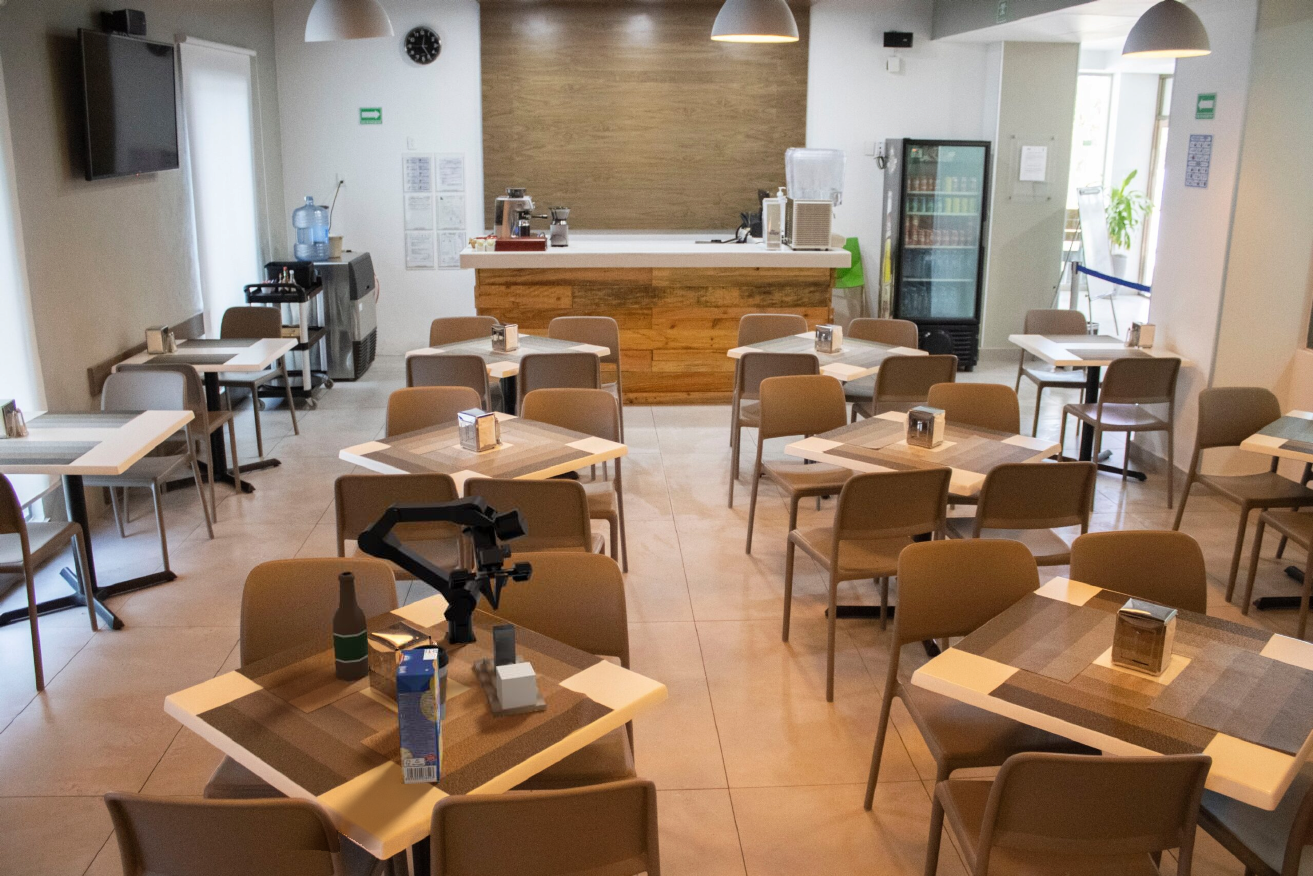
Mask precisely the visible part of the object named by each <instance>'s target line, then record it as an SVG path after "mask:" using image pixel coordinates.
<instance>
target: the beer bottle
mask: <svg viewBox="0 0 1313 876" xmlns="http://www.w3.org/2000/svg"><path fill="white" fill-rule="evenodd" d="M337 579H338V581H339V604H338V608H337V609H336V611H335V612H334V615H333V619H332V631H333V632H332V634H333V637H332V638H333V647H334V648H333V650H334V651H333V652H334V662H335V663H334V664H335V674H336V678H337V679H340V680H343V681H347V682H350V681H357V680H361V679H363V678H365V677H367V676H368V675H369V674H370V668H369V669H368V655H369V641H368V629H367V628H368V627H367V620H366V616H365V613H364V611H363V610H362V608H361V607H360V606H359V605H358V601H357V596H356V595H357V594H356V588H355V579H356V577H355V573H354V572H353V571H342V572H340V573H339V574H338V576H337ZM368 673H369V674H368Z"/></svg>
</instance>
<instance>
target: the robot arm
mask: <svg viewBox="0 0 1313 876" xmlns="http://www.w3.org/2000/svg"><path fill="white" fill-rule="evenodd" d="M422 522H424V523H425V522H428V523H429V522H448V523H452V524H454V525H459V526H465V527H464V528H463V529H462V530H461V534H463V535H464V536H465V537H466V538H467V539H470V538H471V541H472V547H473V555H474V560H475V561H474V562H475V568H476V571H475V572H469V570H468V568H467V567H466V568H465V567H464V568H456V569H455V568H454V569H452V570H450V572H449V573H448V572H446V571H445V570H443V569H442V568H440V567H439V566H437V565H435V564H434V563H432V562H431V561H430V560H427V559H426V558H425V557H423V556H421V555H419V553H416V552H415V551H413V550H411V548H409V547H407V546H405V545H404V544H402V543H401V542H400V540H399V538H398V537H397V536H396V535H395V533H394V532H393V531H392V529H393V527H394V526H396V524H398V523H422ZM529 534H530V530H529V525H528V522H527V519H526V517H525V516H524V515H523V513H522V512H520V510H519V508H518V507H516V508H512V509H511V510H509V511H506V512H502V513H501V512H500V511H498V510H497V509H496V508H494V507H492V506H491V505H489V504H488V503H487V502H486V500H485V499H483V497H482V496H480V495H470V496H464V497H460V498H457V499H454V500H451V501H441V502H439V501H438V502H437V501H436V502H434V501H433V502H410V503H409V502H405V503H400V502H394V503H392V504H390V505H389V507H388V508H387V509H386V510H385V512H384V513H383V515H382V516H381V517H380V518H379V519H378V520H377V521H375V522H371V523H369V524H367V526H366V527H365V529H363V530H362V532H361V533H360V534H358V537H357V541H356V542H357V546H358V549H359V550H360V552H362V553H364V554H366V555H369V556H371V557H373V558H375V559H382V560H386V561H390V562H392V563H393V564H395V565H396V566H398V567H399V568H401V569H403V570H404V571H406V572H408V573H409V574H410V575H412V576H413V577H415V578H417V579H419V580H420V581H422V582H423V583H425V584H427V586H429V587H432V588H433V589H434V590H436V591H438V592H439V593H440V594H441V595H442V597H443V599H444V600H445V601H446V603H447V604H448V605H447V606H446V608H445V611H444V612H443V615H444V618H445V621H446V622H447V623H448V625H447V626H448V631H446V632H445V636H446V639H447V641H448V644H449V645H457V644H465V643H475V642H477V637H476V635H475V633H474V630H473V612H474V611H475V610H476V608H477V606H478V605H479V603H480V600H481V598H482V595H483V597H484V598H485V599H486V600H487V602H488V603H489V605H490V606H491V608H492V610H493V612H494V611H498V610H499V605H500V598H501V593H502V592H501V591H502V588H506V586H507V584H508V581H509V578H511V580H512V581H513V582H515V583H521V582H524V583H525V582H528V581H530V579H531V577H532V575H533V567H532V564H531V562H530V561H528V560H527V561H519V562H513V564H512V567H510V568H504V569H503V567H504V565H505V564H504V562H505V560H506V559H510V558H512V550H511V544H510V543H508V542H511V541H515V540H517V539H520V538H523V537H525V536H528V535H529ZM498 540H500V542H504V543H503V544H501V545H500V547H499V544H498ZM505 543H506V544H505ZM504 559H505V560H504ZM491 580H494V583H493V589H492V583H491Z"/></svg>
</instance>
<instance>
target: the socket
mask: <svg viewBox="0 0 1313 876" xmlns="http://www.w3.org/2000/svg"><path fill="white" fill-rule="evenodd" d="M496 680H497V697H498V699H499V702H500V704H501V706H502V709H509V708H515V707H522V706H528V705H535V704H537V702H536V685H537V675H536V672H535V670H534V668H533V666H532V664H531V663H530V661H525V663H518V664H511V665H504V666H497V667H496Z"/></svg>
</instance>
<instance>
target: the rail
mask: <svg viewBox="0 0 1313 876" xmlns="http://www.w3.org/2000/svg"><path fill="white" fill-rule="evenodd" d="M525 662H526V661H525V659H524V657H523V655H522V654H516V664H518V663H525ZM473 666H474V669H475V672H476V675H477V676H478V680H479V682H480V684H481V687H482V690H483V693H484V696H485V697H486V699H487V702H488V705H489V707H490V710H491V712H493V713H492V716H493V717H494V718H500V717H499V716H502V717H504V716H503V715H508V716H512V715H511V714H515V715H518V714H517V713H521V714H525V713H524V712H527V713H531V712H530V711H534V712H536V711H535V710H540V711H545V710H544V709H546V710H547V704H546V701H545V699H544V697H543V695H542V693H541V691H540V688H539V687H538V685H537V684H536V702H537V704H535V705H528V706H522V707H515V708H509V709H502V706H501V704H500V702H499V699H498V697H497V680H496V675H495V672H494V657H492V658H489V657H488V656H486V655H485V656H483V657H482V659H479V660H478V659H477V660H473Z"/></svg>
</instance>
